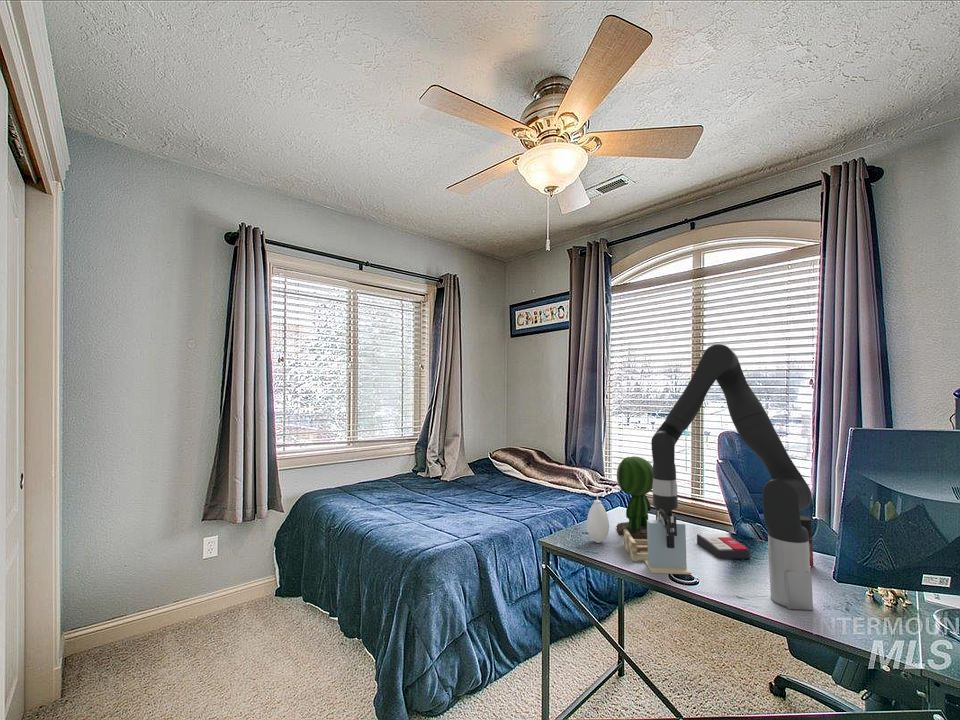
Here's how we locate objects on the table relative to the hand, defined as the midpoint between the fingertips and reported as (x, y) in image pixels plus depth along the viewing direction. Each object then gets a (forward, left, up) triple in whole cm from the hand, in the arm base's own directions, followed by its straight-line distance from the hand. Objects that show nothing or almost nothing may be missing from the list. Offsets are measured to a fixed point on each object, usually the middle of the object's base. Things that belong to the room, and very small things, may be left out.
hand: (666, 543), depth 144 cm
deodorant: (+8, -45, -8) cm, 47 cm away
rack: (+12, +2, -8) cm, 14 cm away
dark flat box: (+18, -24, -8) cm, 31 cm away
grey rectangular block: (0, 0, -7) cm, 7 cm away
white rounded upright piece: (+22, +19, -8) cm, 30 cm away
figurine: (+35, +1, -8) cm, 36 cm away
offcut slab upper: (+11, +2, -7) cm, 13 cm away
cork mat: (0, 0, -8) cm, 8 cm away
